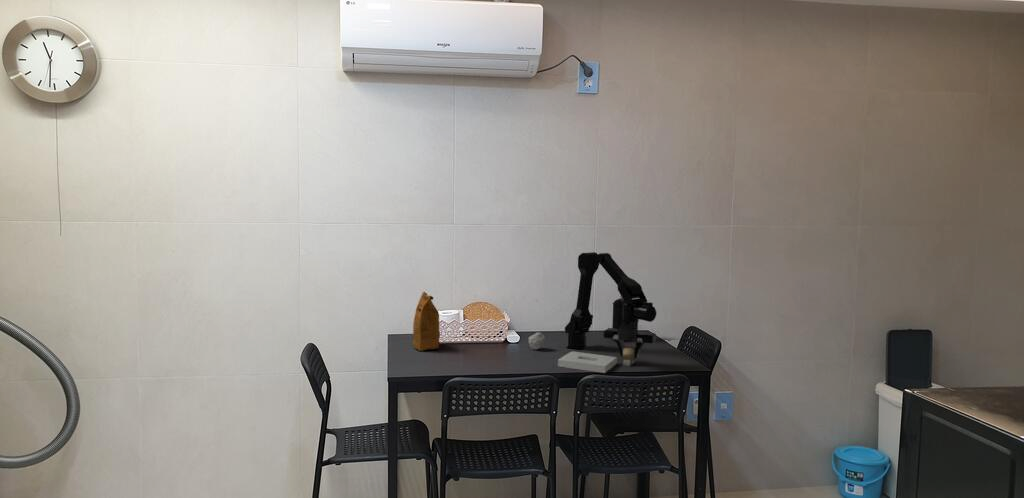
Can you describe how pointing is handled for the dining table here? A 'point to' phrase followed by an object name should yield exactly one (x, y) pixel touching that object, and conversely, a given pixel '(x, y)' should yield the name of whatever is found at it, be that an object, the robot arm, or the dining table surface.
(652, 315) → the robot arm
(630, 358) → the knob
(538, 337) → the grey rock
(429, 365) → the dining table surface
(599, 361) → the hub plate
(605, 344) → the dining table surface
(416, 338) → the coffee package
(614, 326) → the aerosol can
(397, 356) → the dining table surface
